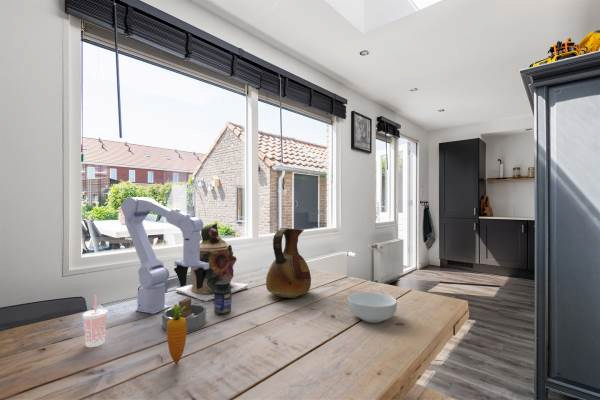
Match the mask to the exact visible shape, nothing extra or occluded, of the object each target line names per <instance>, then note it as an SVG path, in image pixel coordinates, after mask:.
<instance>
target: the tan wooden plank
mask: <svg viewBox="0 0 600 400" xmlns="http://www.w3.org/2000/svg"><path fill="white" fill-rule="evenodd" d="M191 304H192V298H190V297H187V298H184V299H181V300H179V301H178V306H180V308H179V311H180V310H181V308H183V307H184V306H186V308H185V309H184V310H183V311H182V312H181V315H180V317H183V318H185V317H187V316H189V315H191Z"/></svg>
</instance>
